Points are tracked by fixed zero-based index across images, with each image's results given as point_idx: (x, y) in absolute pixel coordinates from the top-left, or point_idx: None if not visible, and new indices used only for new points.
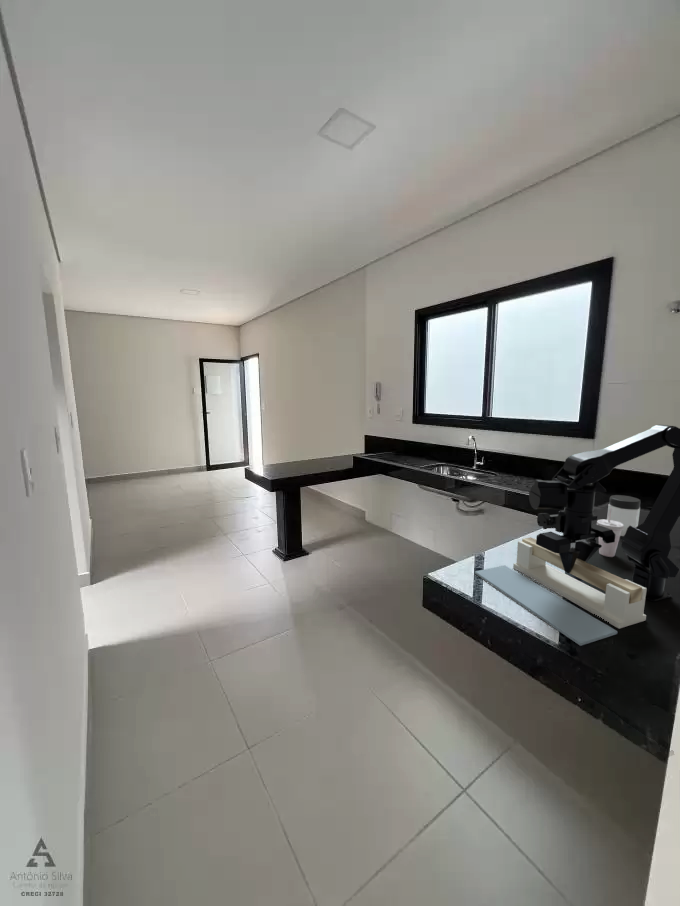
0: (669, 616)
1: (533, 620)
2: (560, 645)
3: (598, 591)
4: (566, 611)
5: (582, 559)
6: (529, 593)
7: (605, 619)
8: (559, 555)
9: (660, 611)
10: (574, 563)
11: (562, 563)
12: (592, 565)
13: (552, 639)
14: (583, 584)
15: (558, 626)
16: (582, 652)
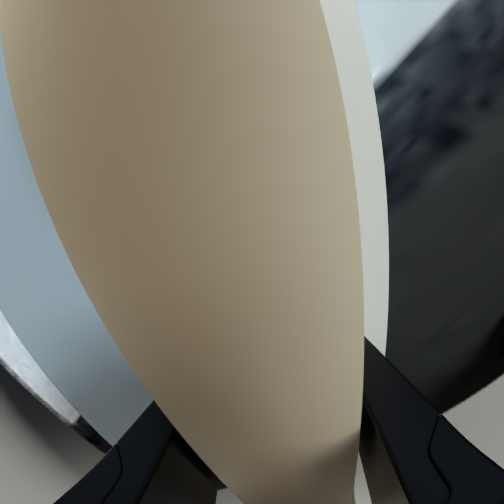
0: (451, 406)
1: (34, 367)
2: (76, 427)
3: (380, 333)
4: (128, 387)
5: (367, 469)
6: (30, 269)
7: None
8: (156, 374)
9: (460, 390)
10: (214, 489)
11: (153, 402)
12: (344, 498)
13: (65, 415)
14: (372, 265)
15: (82, 411)
16: (111, 446)
